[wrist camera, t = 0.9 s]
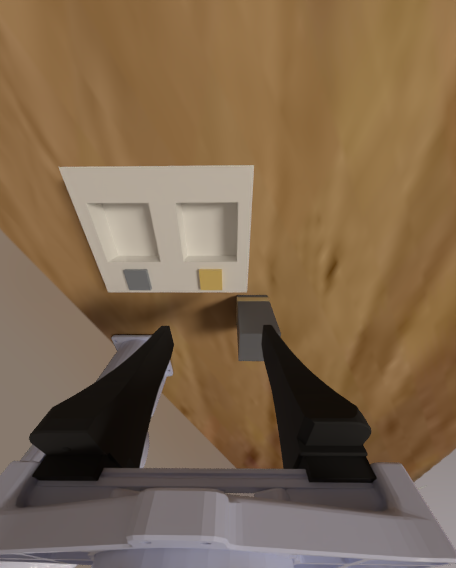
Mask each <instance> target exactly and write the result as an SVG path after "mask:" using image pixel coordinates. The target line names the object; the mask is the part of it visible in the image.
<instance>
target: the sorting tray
mask: <svg viewBox="0 0 456 568" xmlns="http://www.w3.org/2000/svg"><path fill="white" fill-rule="evenodd" d="M59 170H60V172H61V175H62V177H63V180H64V182H65V185H66V187H67V190H68V192H69V195H70V197H71V200H72V202H73V205H74V207H75V210H76V212H77V215H78V217H79V220H80V222H81V225H82V227H83V230H84V232H85V235H86V237H87V240H88V242H89V245H90V248H91V250H92V253H93V255H94V258H95V260H96V263H97V265H98V268H99V270H100V273H101V275H102V278H103V280H104V283H105V285H106V288H107V290H108V292H247V283H248V265H249V247H250V228H251V210H252V192H253V174H254V165H240V166H123V167H59Z"/></svg>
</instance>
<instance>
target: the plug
mask: <svg viewBox="0 0 456 568" xmlns="http://www.w3.org/2000/svg"><path fill="white" fill-rule="evenodd" d="M236 325H237V337H238V357H239V361H264V358H263V352H262V345H261V342H262V332H263V325H272V326H273V327H274V329H275V330H276V332H277V333H278V335H279V336H281V332H280V330H279V327H278V324H277V321H276V318H275V316H274V313H273V310H272V307H271V304H270V300H269V297H268V296H267V295H237V314H236Z"/></svg>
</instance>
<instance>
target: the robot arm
mask: <svg viewBox="0 0 456 568" xmlns="http://www.w3.org/2000/svg"><path fill="white" fill-rule="evenodd" d="M111 339H112V341H113V343H114V345H115V348H116V350H117V353H116V354H115V355H114V357H113V358H112V359H111V361H110V362H109V364H108V365H107V367H106V368H105V369H104V371H103V372H102V374H101V375H100V376H99V378H98V379H97V381H96V382H95V383H94V384H92V385H90V386H89V387H87V388H86V389H84V390H82V391H81V392H79V393H77V394H76V395H74V396H72V397H70V398H69V399H67V400H65V401H63V402H61V403H60V404H58V405H56V406H54V407H53V408H52V409H51V410H50V411H49V412H48V414H47V415H46V416H45V417H44V418H43V419H42V421H41V422H40V423H39V425H38V426H37V427H36V428H35V429H34V431H33V432H32V433H31V434H30V437H29V440H30V442H31V443H32V446H31V447H30V448H29V450H28V451H27V452H26V453H25V455H24V456H23V457H22V459H21V460H20V461H13V462H11V463H10V464H9V465H8V467H7V468H6V469H5V470H4V471H3V473H2V474H1V475H0V568H75V567H76V566H77V565H92V566H91V568H431V567H438V566H444V565H450V564H456V550H455V548H454V546H453V545H452V543H451V542H450V540H449V538H448V537H447V535H446V534H445V532H444V530H443V529H442V527H441V526H440V524H439V522H438V521H437V519H436V518H435V516H434V515H433V513H432V511H431V510H430V508H429V507H428V505H427V503H426V502H425V500H424V499H423V497H422V495H421V494H420V492H419V491H418V489H417V487H416V486H415V484H414V483H413V481H412V480H411V478H410V476H409V475H408V473H407V472H406V470H405V468H404V467H403V465H402V464H400V463H384V462H378V463H372V464H369V462H368V460H367V458H366V456H367V452H366V450H365V448H364V446H363V444H364V443H365V441H366V440H367V439H368V438H369V436H370V434H371V428H370V426H369V425H368V423H367V421H366V419H365V418H364V416H363V415H362V413H361V412H360V411H359V409H358V408H357V406H355V405H354V404H352V403H351V402H349V401H348V400H347V399H345V398H344V397H342V396H341V395H339V394H338V393H337V392H335V391H334V390H333V389H331V388H330V387H329V386H327V385H326V384H325V383H324V382H323V381H321V380H320V379H319V378H318V377H317V376H315V375H314V374H313V373H312V372H311V371H310V370H309V369H308V368H307V367H306V366H305V365H304V364H303V363H302V362H301V361H300V360H299V359H298V358H297V357H296V356H295V355H294V354H293V352H292V351H291V350H290V349H289V348H288V346H287V345H286V344H285V343H284V341H283V340H282V339H281V337H280V336H279V335H278V333H277V332H276V330H275V329H274V327H273V326H272V325H263V332H262V342H261V345H262V352H263V358H264V362H265V366H266V370H267V374H268V377H269V381H270V385H271V389H272V394H273V400H274V405H275V412H276V418H277V424H278V431H279V438H280V445H281V452H282V459H283V467H284V469H199V468H197V469H195V468H193V469H189V468H144V465H145V462H146V458H147V455H148V450H149V433H148V427H149V423H150V419H151V417H152V416H153V414H154V412H155V409H156V406H157V404H158V401H159V398H160V395H161V392H162V389H163V386H164V383H165V380H166V377H167V376H172V375H173V370H172V366H171V362H170V359H171V355H172V351H173V347H174V343H173V339H172V335H171V331H170V327H169V326H161V327H160V328H159V329H158V330H157V331H156V332H155V333H154V334H153V335H113V336H112V338H111ZM225 493H255V494H254V497H249V496H240V495H231V494H225Z"/></svg>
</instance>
